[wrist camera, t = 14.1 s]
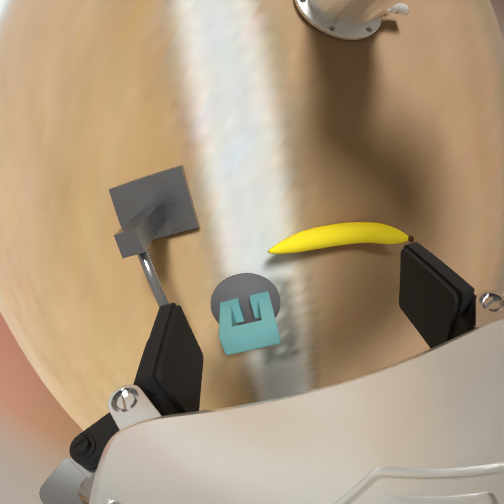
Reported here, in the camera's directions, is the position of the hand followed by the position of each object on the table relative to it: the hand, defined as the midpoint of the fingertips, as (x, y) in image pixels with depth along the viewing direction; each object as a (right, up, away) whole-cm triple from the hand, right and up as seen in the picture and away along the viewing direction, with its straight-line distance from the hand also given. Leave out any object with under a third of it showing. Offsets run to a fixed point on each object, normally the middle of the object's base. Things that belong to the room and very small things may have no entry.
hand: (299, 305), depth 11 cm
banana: (+9, +5, +27) cm, 29 cm away
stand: (-13, +4, +26) cm, 29 cm away
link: (-3, -5, +30) cm, 30 cm away
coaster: (-3, -5, +30) cm, 31 cm away
